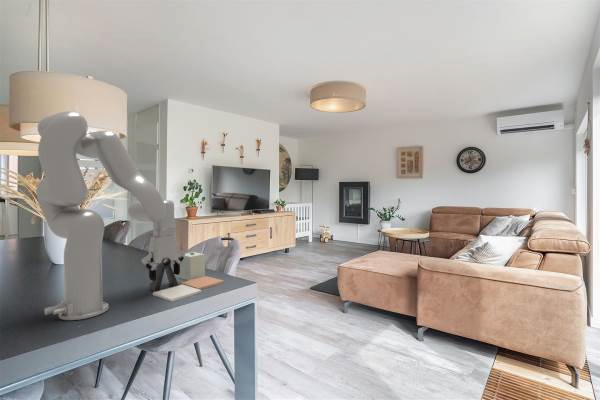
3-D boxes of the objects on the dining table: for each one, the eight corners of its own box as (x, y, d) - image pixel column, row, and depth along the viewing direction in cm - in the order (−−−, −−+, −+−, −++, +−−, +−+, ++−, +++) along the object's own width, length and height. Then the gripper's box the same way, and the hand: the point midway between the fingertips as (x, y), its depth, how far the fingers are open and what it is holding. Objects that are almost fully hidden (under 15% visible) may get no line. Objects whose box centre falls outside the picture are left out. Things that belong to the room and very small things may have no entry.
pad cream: (171, 301, 105) (171, 299, 105) (152, 294, 112) (152, 292, 112) (201, 292, 115) (201, 290, 115) (182, 286, 122) (182, 284, 122)
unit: (190, 280, 130) (190, 255, 129) (179, 277, 134) (179, 253, 134) (205, 277, 136) (205, 252, 135) (194, 274, 140) (194, 250, 140)
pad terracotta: (199, 290, 118) (199, 288, 118) (180, 284, 125) (180, 282, 125) (224, 282, 127) (224, 280, 127) (205, 277, 134) (205, 275, 134)
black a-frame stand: (154, 292, 115) (153, 259, 115) (149, 288, 120) (149, 257, 120) (179, 287, 121) (178, 256, 121) (174, 284, 126) (173, 254, 125)
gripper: (178, 229, 129) (179, 270, 130) (136, 234, 115) (137, 280, 116) (189, 230, 125) (190, 273, 125) (147, 236, 111) (148, 284, 111)
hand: (165, 277), depth 121 cm, fingers open, 9 cm apart
